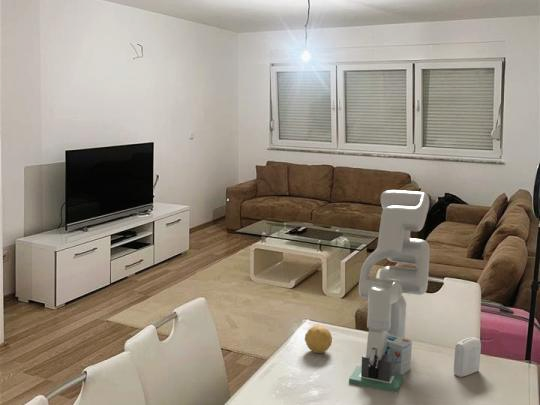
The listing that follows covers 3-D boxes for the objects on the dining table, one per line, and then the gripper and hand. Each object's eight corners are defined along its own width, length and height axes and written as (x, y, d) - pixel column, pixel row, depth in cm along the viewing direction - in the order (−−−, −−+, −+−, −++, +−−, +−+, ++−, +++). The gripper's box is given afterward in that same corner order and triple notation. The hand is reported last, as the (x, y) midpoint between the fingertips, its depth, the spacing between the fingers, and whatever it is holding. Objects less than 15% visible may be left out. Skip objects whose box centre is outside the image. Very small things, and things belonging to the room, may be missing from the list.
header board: (356, 369, 198) (357, 357, 197) (403, 379, 191) (403, 366, 191) (348, 382, 189) (349, 369, 188) (397, 392, 182) (398, 379, 182)
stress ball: (318, 347, 218) (299, 332, 216) (336, 330, 215) (316, 315, 213) (320, 363, 208) (300, 347, 206) (338, 345, 206) (318, 330, 204)
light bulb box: (374, 366, 201) (375, 337, 199) (384, 359, 206) (386, 331, 204) (401, 376, 194) (402, 346, 192) (411, 369, 199) (412, 340, 197)
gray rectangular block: (364, 371, 193) (364, 351, 192) (391, 376, 190) (392, 357, 188) (361, 376, 190) (361, 356, 189) (389, 382, 186) (390, 362, 185)
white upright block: (470, 366, 201) (473, 333, 199) (481, 371, 198) (483, 337, 195) (451, 373, 196) (453, 339, 193) (461, 378, 192) (464, 344, 190)
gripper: (373, 312, 196) (371, 359, 199) (360, 330, 180) (358, 380, 183) (395, 316, 193) (393, 363, 196) (384, 334, 177) (382, 385, 180)
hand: (376, 371), depth 189 cm, fingers open, 9 cm apart
